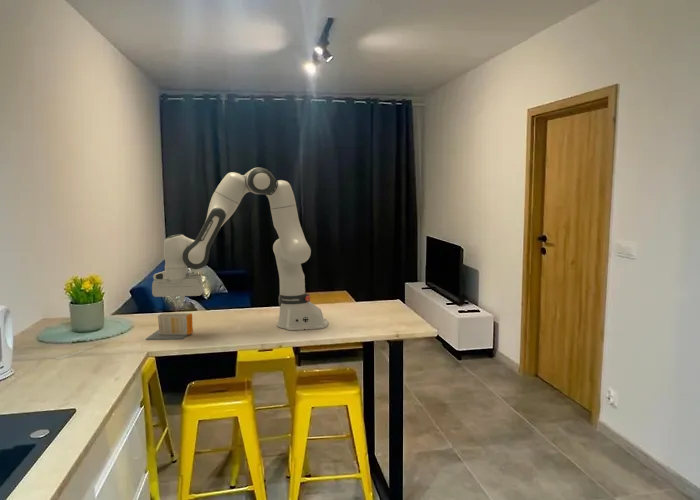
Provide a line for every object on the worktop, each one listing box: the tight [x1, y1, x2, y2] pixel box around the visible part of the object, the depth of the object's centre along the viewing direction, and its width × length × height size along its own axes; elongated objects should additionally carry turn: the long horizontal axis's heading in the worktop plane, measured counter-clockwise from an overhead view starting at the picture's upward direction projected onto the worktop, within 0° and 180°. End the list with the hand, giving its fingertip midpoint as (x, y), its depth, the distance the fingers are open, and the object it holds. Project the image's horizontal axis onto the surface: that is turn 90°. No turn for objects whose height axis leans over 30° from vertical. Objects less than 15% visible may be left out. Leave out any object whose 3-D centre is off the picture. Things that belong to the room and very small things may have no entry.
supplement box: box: [157, 312, 194, 336], centre depth 216 cm, size 8×5×13 cm
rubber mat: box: [145, 329, 188, 341], centre depth 216 cm, size 15×13×1 cm
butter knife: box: [55, 349, 86, 360], centre depth 197 cm, size 1×24×3 cm
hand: (178, 306), depth 214 cm, fingers closed
